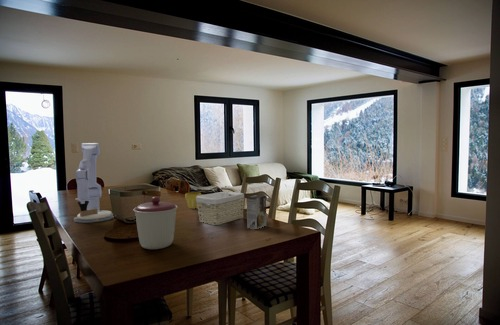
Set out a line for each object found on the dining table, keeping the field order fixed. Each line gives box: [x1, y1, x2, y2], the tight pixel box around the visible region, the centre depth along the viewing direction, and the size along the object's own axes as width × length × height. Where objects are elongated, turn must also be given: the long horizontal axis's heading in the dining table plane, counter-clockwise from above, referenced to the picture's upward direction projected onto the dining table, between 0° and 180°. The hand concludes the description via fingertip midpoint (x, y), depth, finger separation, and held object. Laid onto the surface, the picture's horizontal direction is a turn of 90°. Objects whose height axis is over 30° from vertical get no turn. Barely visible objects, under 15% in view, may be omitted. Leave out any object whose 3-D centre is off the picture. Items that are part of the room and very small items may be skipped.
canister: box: [133, 196, 179, 250], centre depth 140 cm, size 18×18×21 cm
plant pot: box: [184, 192, 202, 210], centre depth 221 cm, size 10×10×10 cm
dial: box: [76, 208, 112, 220], centre depth 192 cm, size 18×18×4 cm
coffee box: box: [246, 194, 267, 230], centre depth 169 cm, size 9×6×16 cm
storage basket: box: [196, 190, 245, 226], centre depth 185 cm, size 24×16×15 cm
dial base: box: [73, 213, 115, 224], centre depth 192 cm, size 22×22×2 cm
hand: (83, 214), depth 188 cm, fingers closed, pressing on dial
